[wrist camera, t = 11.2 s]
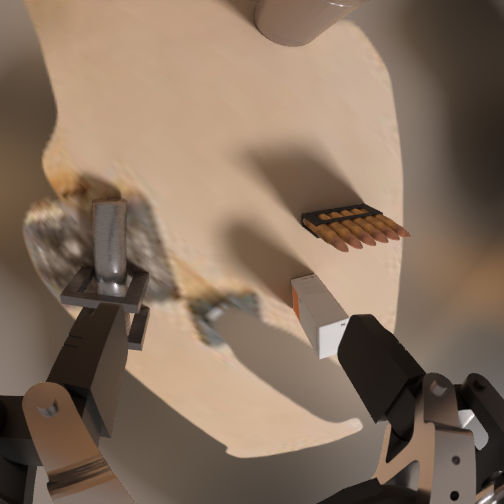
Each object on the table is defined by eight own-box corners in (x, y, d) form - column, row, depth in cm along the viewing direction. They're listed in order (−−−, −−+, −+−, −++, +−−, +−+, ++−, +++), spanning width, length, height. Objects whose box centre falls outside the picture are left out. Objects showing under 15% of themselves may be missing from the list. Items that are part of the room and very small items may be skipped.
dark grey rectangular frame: (86, 300, 37) (68, 333, 29) (149, 308, 39) (141, 343, 32) (87, 307, 37) (70, 339, 30) (149, 314, 40) (141, 350, 32)
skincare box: (289, 279, 42) (318, 326, 31) (315, 272, 42) (350, 316, 31) (292, 310, 44) (318, 360, 33) (316, 304, 44) (347, 351, 34)
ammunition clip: (365, 203, 39) (416, 228, 28) (365, 215, 40) (415, 242, 29) (300, 214, 38) (339, 244, 27) (302, 226, 39) (339, 261, 28)
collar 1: (82, 266, 35) (60, 295, 27) (148, 273, 37) (138, 305, 30) (83, 273, 35) (61, 303, 28) (148, 280, 38) (138, 313, 30)
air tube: (97, 196, 32) (87, 204, 28) (130, 198, 33) (123, 206, 29) (106, 321, 39) (100, 340, 35) (132, 323, 40) (129, 342, 36)
